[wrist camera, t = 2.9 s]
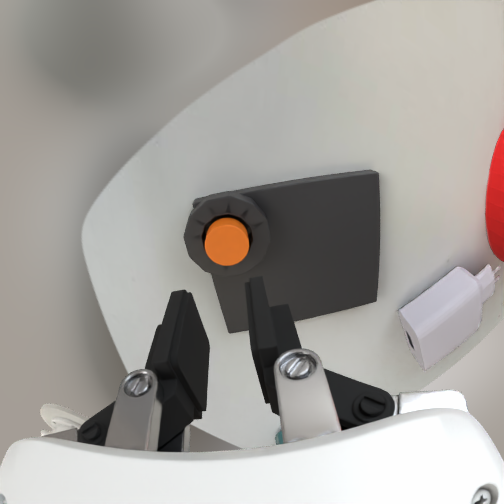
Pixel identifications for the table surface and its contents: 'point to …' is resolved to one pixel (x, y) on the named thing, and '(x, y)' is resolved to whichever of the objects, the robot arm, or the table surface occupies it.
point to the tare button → (227, 241)
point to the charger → (446, 314)
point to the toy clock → (496, 201)
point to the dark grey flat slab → (296, 244)
